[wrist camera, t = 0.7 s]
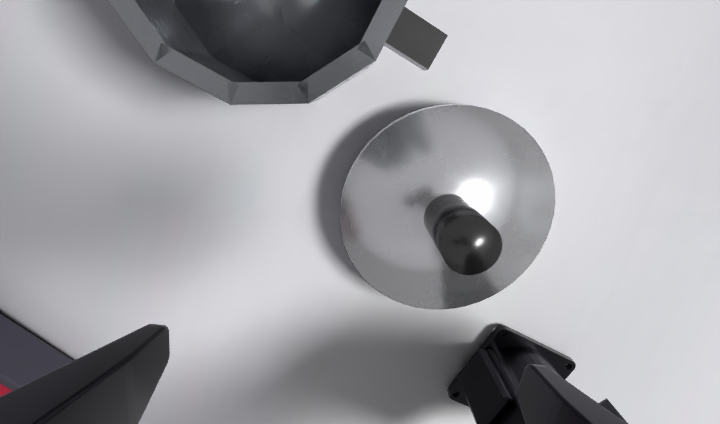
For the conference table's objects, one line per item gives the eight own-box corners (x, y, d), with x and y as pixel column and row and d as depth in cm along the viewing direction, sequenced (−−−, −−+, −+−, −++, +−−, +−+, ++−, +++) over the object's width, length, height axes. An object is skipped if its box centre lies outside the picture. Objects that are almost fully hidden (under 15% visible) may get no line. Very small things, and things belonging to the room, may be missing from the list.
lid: (579, 168, 20) (663, 197, 15) (464, 319, 24) (499, 389, 18) (407, 60, 18) (433, 48, 13) (306, 243, 21) (292, 297, 16)
